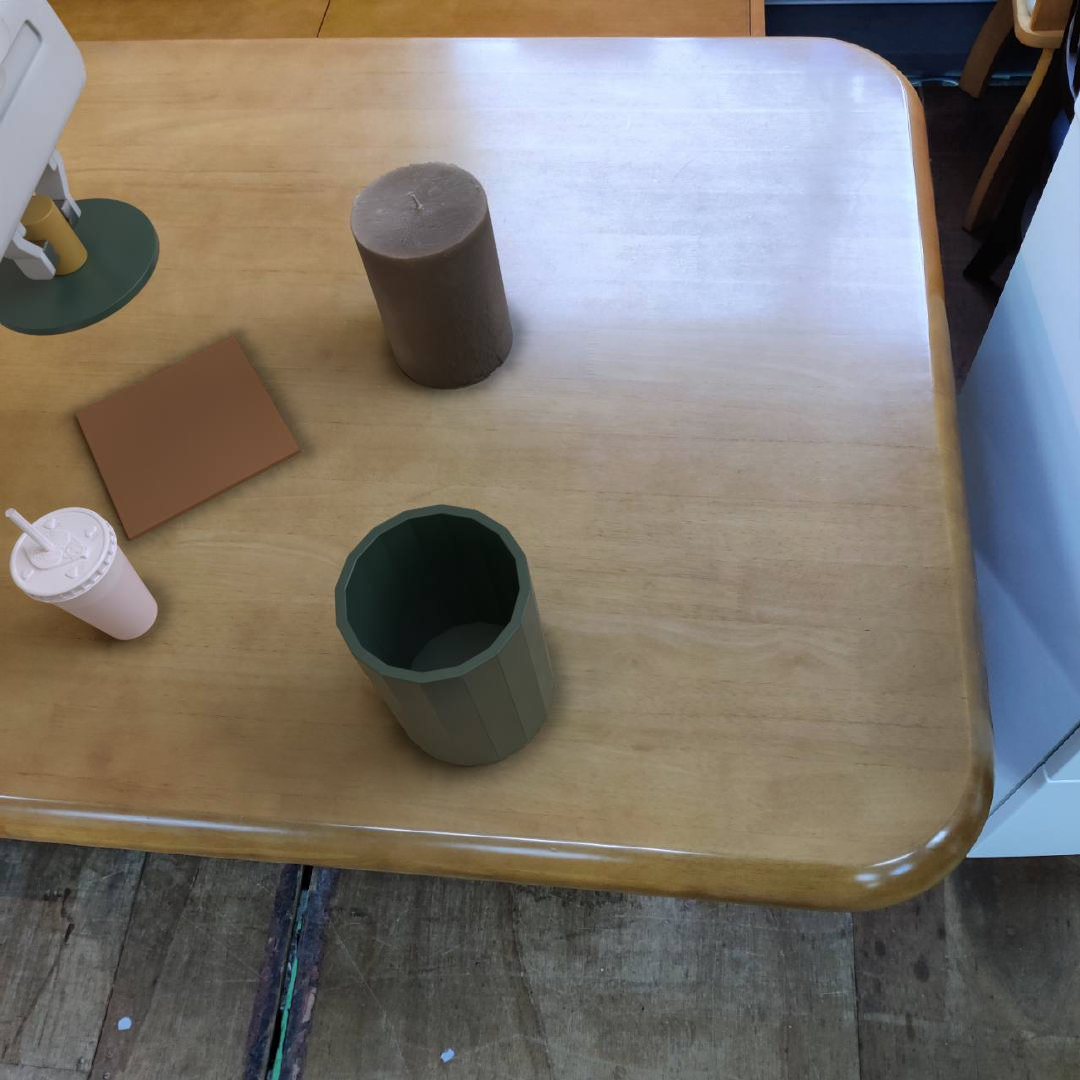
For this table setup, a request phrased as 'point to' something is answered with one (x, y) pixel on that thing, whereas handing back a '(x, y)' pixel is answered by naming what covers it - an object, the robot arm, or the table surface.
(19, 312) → the tin lid
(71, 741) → the table surface
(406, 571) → the tin
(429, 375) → the pillar candle
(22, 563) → the smoothie
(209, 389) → the cork mat
